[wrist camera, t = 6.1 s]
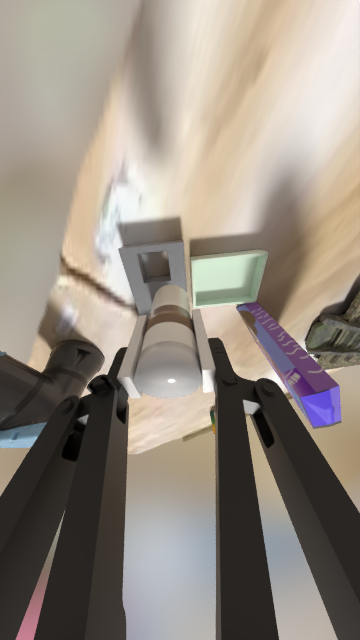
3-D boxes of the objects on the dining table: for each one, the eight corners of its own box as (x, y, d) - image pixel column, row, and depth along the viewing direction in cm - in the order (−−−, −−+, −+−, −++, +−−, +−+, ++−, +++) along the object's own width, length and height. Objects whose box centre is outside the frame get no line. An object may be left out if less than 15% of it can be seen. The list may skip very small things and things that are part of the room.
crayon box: (209, 412, 80) (214, 438, 71) (213, 410, 79) (219, 436, 69) (217, 415, 83) (222, 440, 74) (221, 413, 82) (227, 439, 72)
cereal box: (236, 307, 39) (299, 399, 19) (253, 298, 37) (340, 387, 18) (256, 342, 47) (314, 430, 28) (270, 336, 46) (342, 423, 26)
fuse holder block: (143, 311, 38) (134, 340, 29) (123, 245, 28) (101, 259, 20) (187, 307, 38) (191, 334, 29) (182, 239, 28) (186, 249, 19)
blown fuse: (157, 316, 19) (144, 400, 11) (150, 286, 17) (123, 365, 8) (189, 313, 19) (202, 395, 10) (187, 282, 17) (201, 358, 8)
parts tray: (192, 302, 37) (193, 308, 34) (190, 256, 30) (191, 260, 28) (250, 296, 37) (255, 302, 34) (260, 249, 30) (268, 252, 27)
